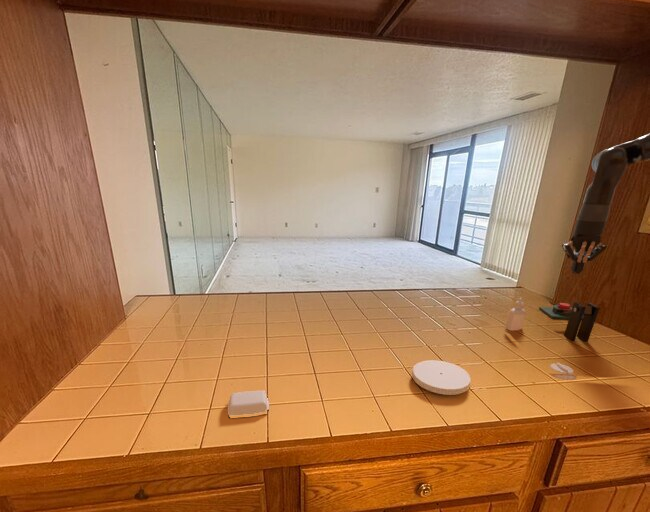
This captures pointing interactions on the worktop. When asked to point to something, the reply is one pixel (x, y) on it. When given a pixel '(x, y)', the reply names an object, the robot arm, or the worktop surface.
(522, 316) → the eye dropper bottle
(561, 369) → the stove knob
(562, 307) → the button
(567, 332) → the bracket
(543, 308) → the button box
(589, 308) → the lever
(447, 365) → the plastic lid
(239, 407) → the soap
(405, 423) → the worktop surface
